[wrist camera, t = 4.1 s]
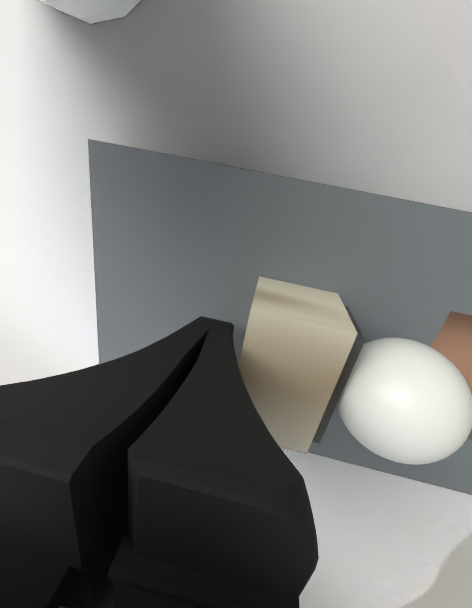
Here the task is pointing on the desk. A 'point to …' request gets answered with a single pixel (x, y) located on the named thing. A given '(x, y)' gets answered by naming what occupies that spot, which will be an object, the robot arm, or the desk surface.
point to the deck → (276, 266)
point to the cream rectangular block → (297, 359)
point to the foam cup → (94, 8)
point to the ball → (406, 402)
